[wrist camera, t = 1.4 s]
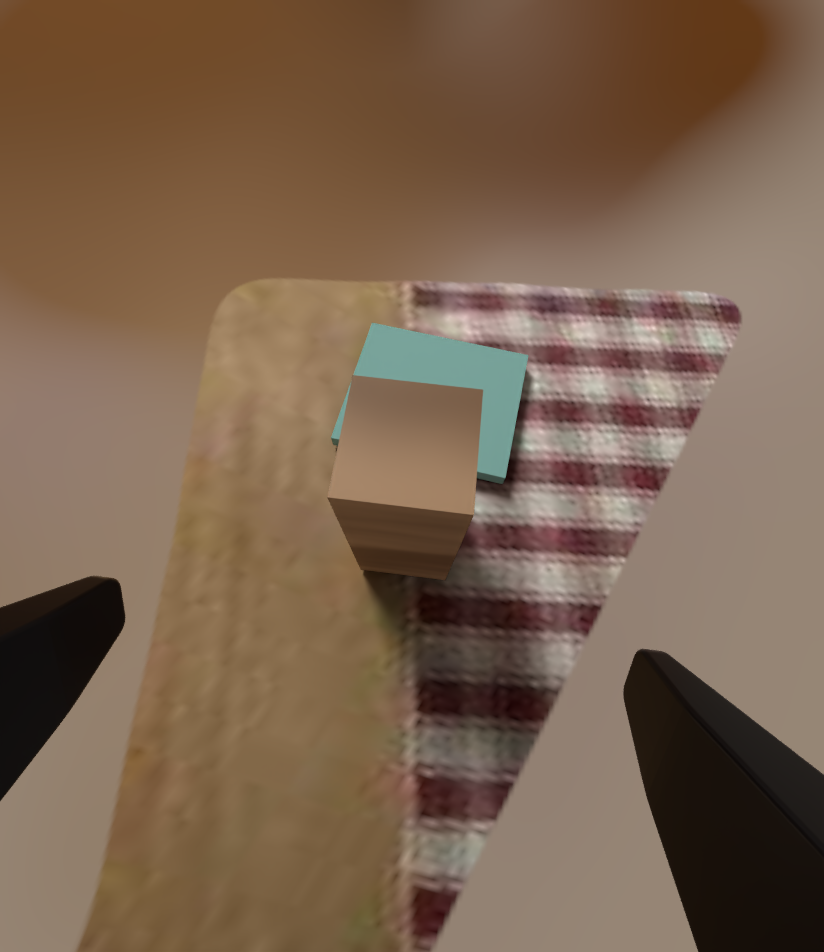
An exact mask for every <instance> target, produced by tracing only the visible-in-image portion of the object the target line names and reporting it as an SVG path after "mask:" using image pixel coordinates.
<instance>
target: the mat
mask: <svg viewBox="0 0 824 952" xmlns="http://www.w3.org/2000/svg"><path fill="white" fill-rule="evenodd" d="M527 360H528V355H524V354H520V353H515V352H510V351H505V350H500V349H496V348H491V347H486V346H481V345H476V344H472V343H467V342H462V341H457V340H452V339H448V338H443V337H438V336H433V335H428V334H424V333H419V332H414V331H409V330H404V329H400V328H395V327H390V326H385V325H380V324H376V323H372V325H371V327H370V330H369V333H368V336H367V339H366V341H365V344H364V347H363V350H362V353H361V355H360V358H359V361H358V364H357V367H356V369H355V372H354V375H357V376H366V377H375V378H384V379H393V380H402V381H411V382H420V383H429V384H438V385H447V386H456V387H465V388H474V389H483V400H482V413H481V426H480V439H479V452H478V465H477V478H478V479H483V480H487V481H491V482H495V483H500V484H503V482H504V480H505V478H506V472H507V467H508V462H509V456H510V451H511V446H512V440H513V435H514V430H515V424H516V419H517V413H518V408H519V403H520V397H521V392H522V387H523V381H524V376H525V371H526V365H527ZM350 385H351V383H350ZM349 390H350V386H349V389H348V392H347V395H346V397H345V400H344V403H343V406H342V409H341V411H340V414H339V417H338V420H337V423H336V425H335V428H334V431H333V434H332V437H331V439H332V442H333V445H337V446H338V443H339V438H340V434H341V429H342V424H343V419H344V414H345V409H346V405H347V400H348V395H349Z"/></svg>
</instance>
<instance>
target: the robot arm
mask: <svg viewBox="0 0 824 952" xmlns="http://www.w3.org/2000/svg"><path fill="white" fill-rule="evenodd" d="M124 623H125V611H124V604H123V598H122V592H121V586H120V583H119V582H118V581H117V580H116V579H114V578H109V577H102V576H90V577H86V578H83V579H81V580H78V581H75V582H72V583H69V584H66V585H64V586H61V587H58V588H55V589H52V590H49V591H46V592H43V593H41V594H38V595H35V596H32V597H29V598H26V599H23V600H21V601H18V602H15V603H12V604H9V605H6V606H3V607H1V608H0V801H1V800H2V798H3V797H4V795H6V793H7V792H8V791H9V789H10V788H11V787H12V786H13V784H14V783H15V782H16V780H17V779H18V778H19V776H20V775H21V774H22V773H23V771H24V770H25V769H26V767H27V766H28V765H29V764H30V762H31V761H32V760H33V758H34V757H35V756H36V754H37V753H38V752H39V751H40V749H41V748H42V747H43V746H44V744H45V743H46V742H47V740H48V739H49V738H50V736H51V735H52V734H53V733H54V731H55V730H56V729H57V727H58V726H59V725H60V723H61V722H62V721H63V719H64V718H65V717H66V715H67V714H68V713H69V711H70V710H71V708H72V707H73V705H74V704H75V702H76V701H77V700H78V698H79V697H80V695H81V693H82V692H83V690H84V689H85V687H86V686H87V684H88V683H89V681H90V679H91V678H92V676H93V675H94V673H95V671H96V670H97V668H98V667H99V665H100V664H101V662H102V661H103V659H104V658H105V656H106V654H107V653H108V651H109V649H110V648H111V647H112V645H113V643H114V642H115V640H116V639H117V637H118V636H119V634H120V633H121V631H122V629H123V626H124ZM624 702H625V707H626V711H627V715H628V720H629V724H630V728H631V733H632V737H633V741H634V746H635V750H636V754H637V759H638V763H639V767H640V772H641V776H642V780H643V784H644V788H645V792H646V796H647V799H648V802H649V805H650V809H651V811H652V815H653V818H654V821H655V824H656V827H657V830H658V833H659V836H660V839H661V842H662V845H663V848H664V851H665V854H666V857H667V860H668V863H669V866H670V868H671V872H672V875H673V878H674V880H675V884H676V887H677V890H678V893H679V896H680V898H681V902H682V904H683V907H684V911H685V913H686V916H687V919H688V922H689V925H690V928H691V931H692V934H693V937H694V940H695V943H696V946H697V949H698V952H824V775H823V774H822V773H821V772H820V771H818V770H817V769H816V768H814V767H813V766H812V765H811V764H809V763H808V762H807V761H805V760H804V759H803V758H801V757H800V756H799V755H798V754H796V753H795V752H794V751H792V750H791V749H790V748H789V747H787V746H786V745H785V744H783V743H782V742H781V741H779V740H778V739H777V738H776V737H774V736H773V735H772V734H770V733H769V732H768V731H767V730H765V729H764V728H763V727H761V726H760V725H759V724H758V723H756V722H755V721H754V720H752V719H751V718H750V717H749V716H747V715H746V714H745V713H743V712H742V711H741V710H740V709H738V708H737V707H736V706H734V705H733V704H732V703H730V702H729V701H728V700H727V699H725V698H724V697H723V696H721V695H720V694H719V693H718V692H716V691H715V690H714V689H712V688H711V687H710V686H708V685H707V684H706V683H704V682H703V681H702V680H701V679H699V678H698V677H697V676H696V675H694V674H693V673H692V672H690V671H689V670H688V669H687V668H685V667H684V666H682V665H681V664H680V663H679V662H678V661H676V660H675V659H674V658H672V657H671V656H670V655H668V654H667V653H665V652H662V651H656V650H648V649H640V650H638V651H637V652H636V654H635V656H634V659H633V661H632V664H631V667H630V670H629V673H628V676H627V679H626V682H625V685H624Z"/></svg>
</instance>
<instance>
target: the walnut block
mask: <svg viewBox="0 0 824 952" xmlns="http://www.w3.org/2000/svg"><path fill="white" fill-rule="evenodd" d="M482 400H483V389H474V388H465V387H456V386H447V385H438V384H429V383H420V382H411V381H402V380H393V379H384V378H375V377H366V376H357V375H353V376H352V381H351V385H350V390H349V395H348V400H347V405H346V409H345V414H344V419H343V424H342V429H341V434H340V438H339V443H338V448H337V453H336V458H335V463H334V467H333V472H332V477H331V482H330V487H329V492H328V496H327V498H328V500H329V502H330V504H331V506H332V508H333V510H334V513H335V515H336V517H337V519H338V521H339V523H340V526H341V528H342V530H343V532H344V534H345V536H346V539H347V541H348V543H349V545H350V547H351V549H352V551H353V554H354V556H355V558H356V560H357V562H358V564H359V567H360V569H361V570H368V571H376V572H384V573H392V574H400V575H408V576H416V577H423V578H431V579H439V580H446V577H447V575H448V573H449V570H450V568H451V566H452V564H453V561H454V559H455V557H456V554H457V552H458V550H459V547H460V545H461V543H462V541H463V538H464V536H465V534H466V531H467V529H468V527H469V525H470V522H471V520H472V518H473V515H474V505H475V491H476V478H477V465H478V452H479V439H480V426H481V413H482Z"/></svg>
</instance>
